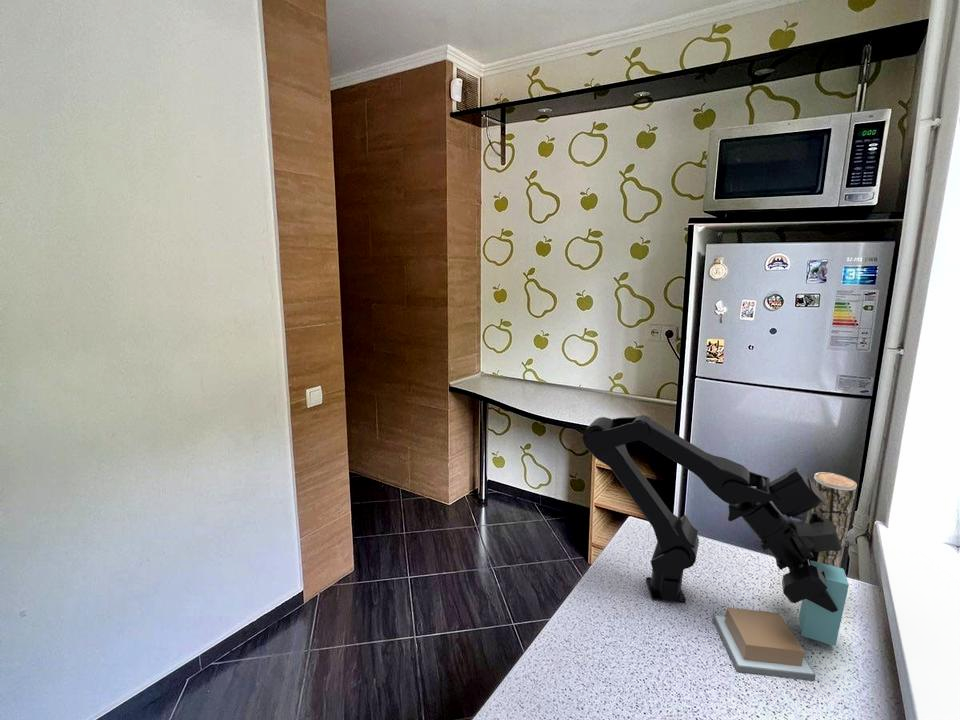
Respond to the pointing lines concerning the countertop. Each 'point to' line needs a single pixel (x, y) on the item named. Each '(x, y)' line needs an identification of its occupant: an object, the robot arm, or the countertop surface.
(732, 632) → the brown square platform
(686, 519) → the robot arm
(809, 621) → the teal block
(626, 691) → the countertop surface
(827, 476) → the wooden log
